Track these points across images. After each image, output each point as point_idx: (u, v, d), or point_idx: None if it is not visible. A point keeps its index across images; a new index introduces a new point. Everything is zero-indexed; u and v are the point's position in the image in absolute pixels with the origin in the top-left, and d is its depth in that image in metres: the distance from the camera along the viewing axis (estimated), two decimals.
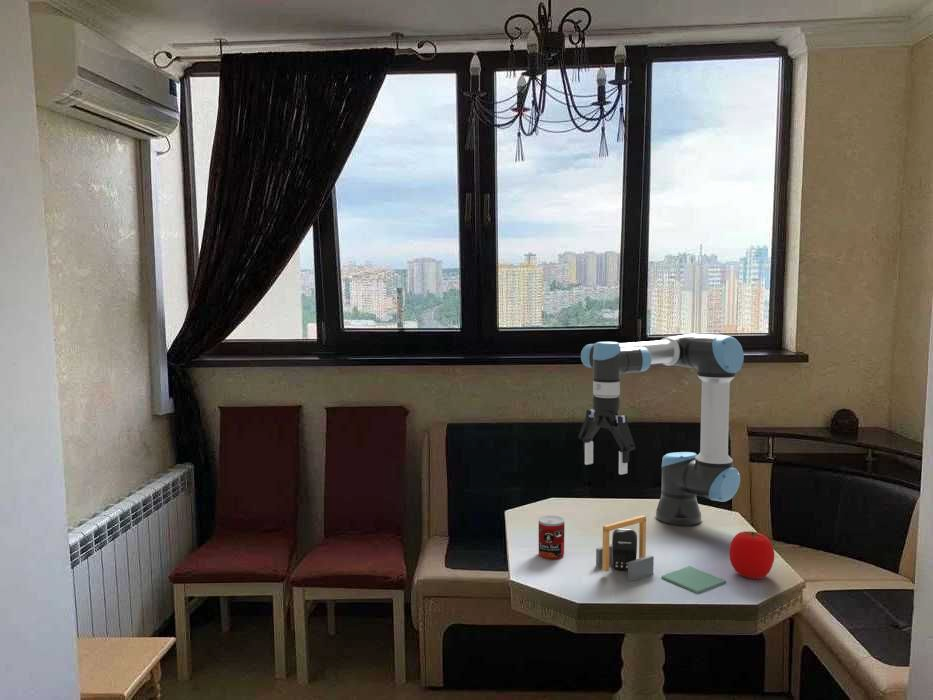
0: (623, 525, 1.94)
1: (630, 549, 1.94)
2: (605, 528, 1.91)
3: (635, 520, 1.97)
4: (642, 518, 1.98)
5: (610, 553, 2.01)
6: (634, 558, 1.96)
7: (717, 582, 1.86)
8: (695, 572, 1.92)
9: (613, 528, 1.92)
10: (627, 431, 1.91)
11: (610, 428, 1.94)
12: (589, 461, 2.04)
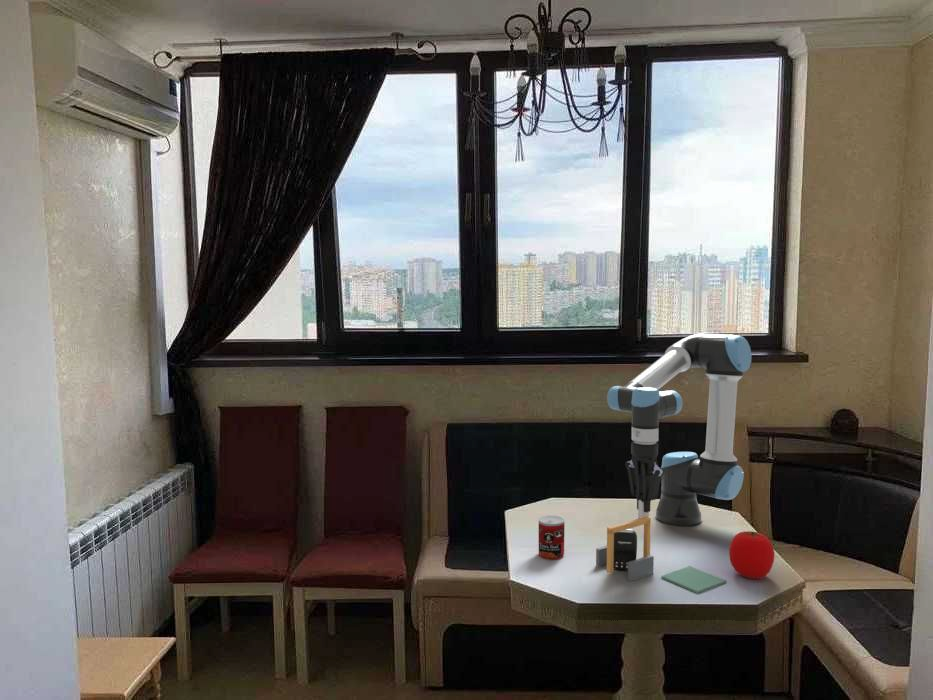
0: (627, 527, 1.93)
1: (630, 549, 1.94)
2: (609, 530, 1.89)
3: (639, 522, 1.95)
4: (646, 520, 1.97)
5: None
6: (634, 558, 1.96)
7: (717, 582, 1.86)
8: (695, 572, 1.92)
9: (617, 530, 1.90)
10: (657, 484, 1.94)
11: (643, 476, 1.96)
12: None
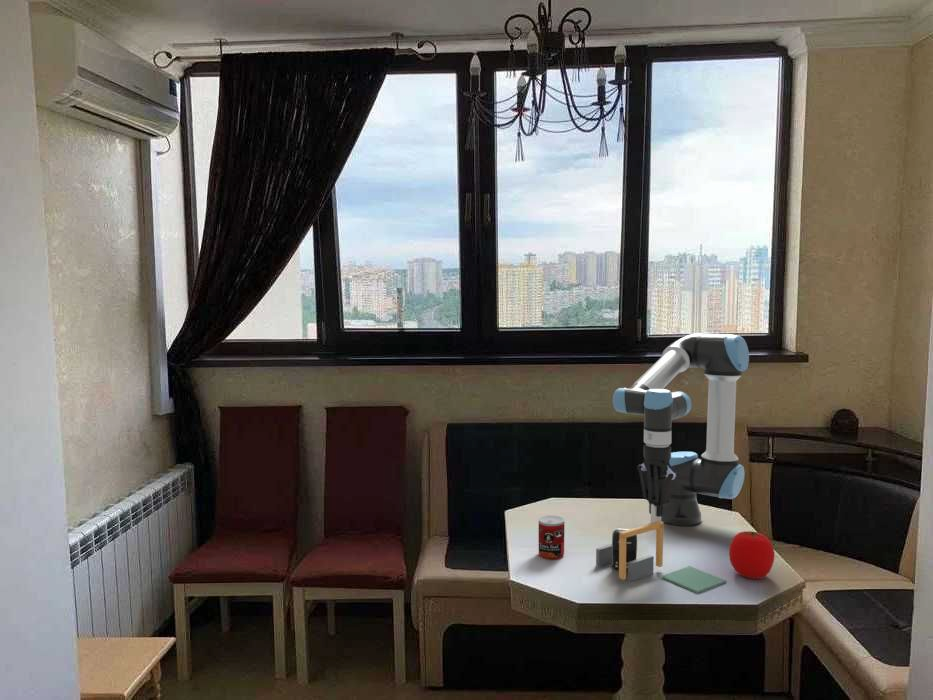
0: (640, 531, 1.89)
1: (630, 549, 1.94)
2: (622, 535, 1.85)
3: (652, 526, 1.92)
4: (659, 524, 1.93)
5: (610, 553, 2.01)
6: (634, 558, 1.96)
7: (717, 582, 1.86)
8: (695, 572, 1.92)
9: (630, 534, 1.87)
10: (670, 488, 1.91)
11: (656, 480, 1.92)
12: None
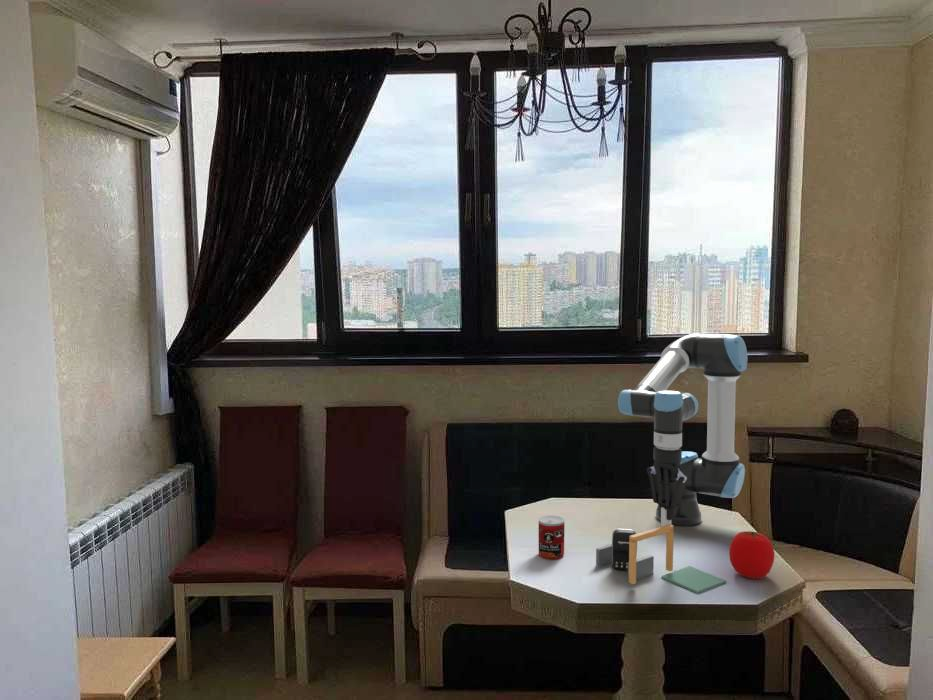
0: (650, 535, 1.86)
1: None
2: (632, 538, 1.82)
3: (662, 530, 1.89)
4: (669, 528, 1.90)
5: (610, 553, 2.01)
6: None
7: (717, 582, 1.86)
8: (695, 572, 1.92)
9: (640, 538, 1.84)
10: (680, 491, 1.88)
11: (667, 483, 1.89)
12: None
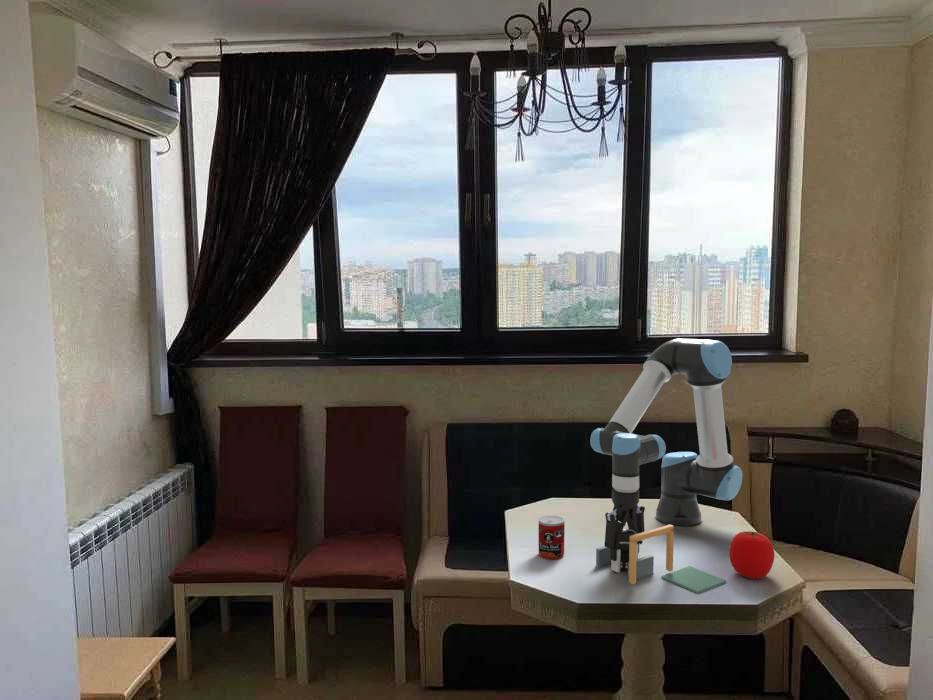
0: (650, 535, 1.86)
1: None
2: (632, 539, 1.82)
3: (662, 530, 1.89)
4: (670, 528, 1.90)
5: None
6: None
7: (717, 582, 1.86)
8: (695, 572, 1.92)
9: (640, 538, 1.84)
10: (608, 530, 1.92)
11: None
12: None
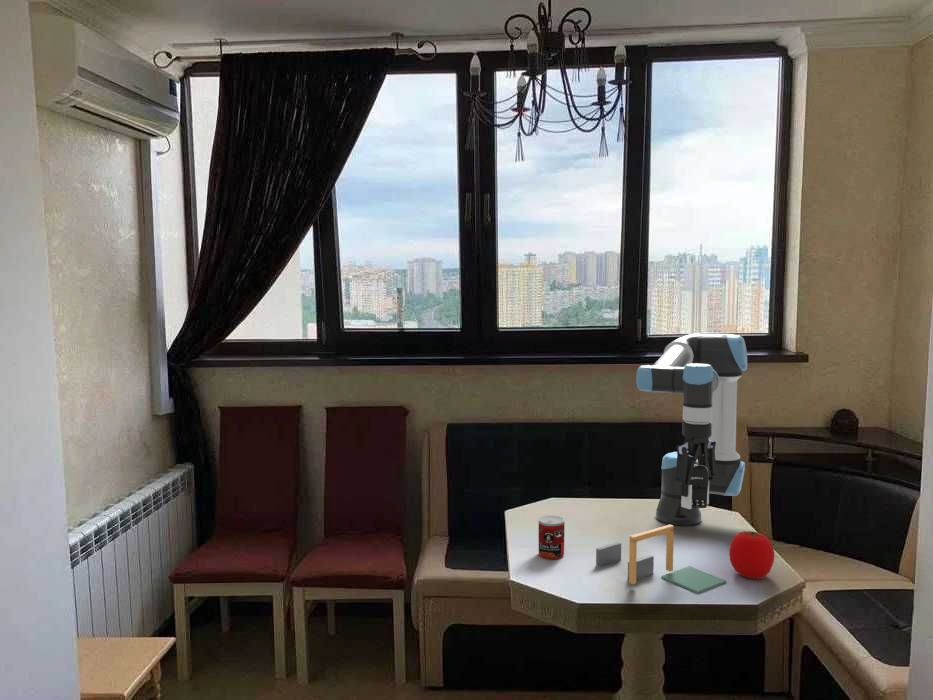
0: (650, 535, 1.86)
1: (701, 485, 1.84)
2: (632, 539, 1.82)
3: (662, 530, 1.89)
4: (670, 528, 1.90)
5: (610, 553, 2.01)
6: (705, 495, 1.86)
7: (717, 582, 1.86)
8: (695, 572, 1.92)
9: (640, 538, 1.84)
10: (680, 463, 1.82)
11: None
12: None
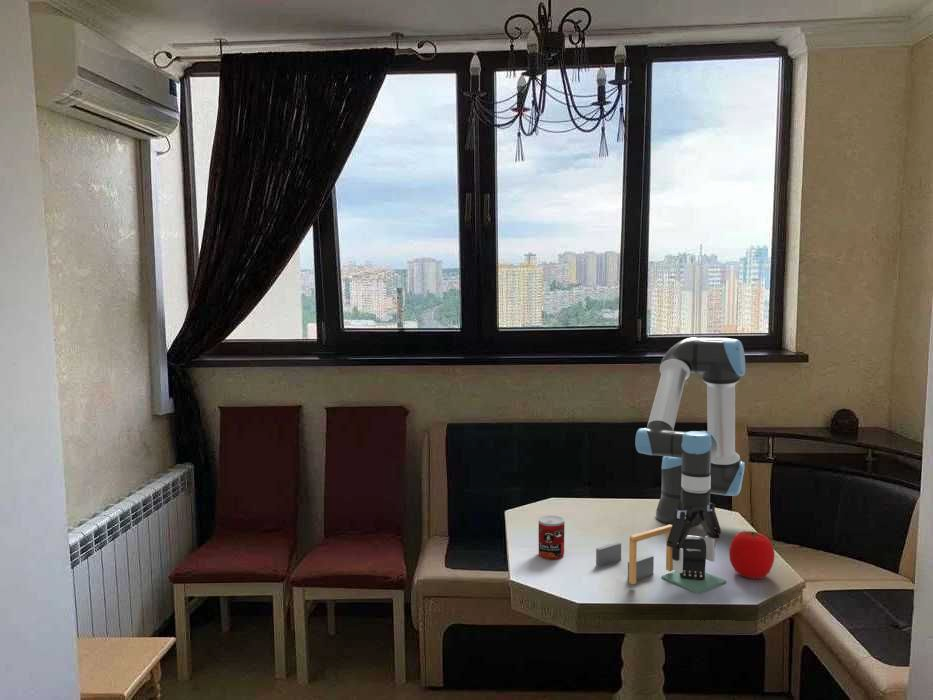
0: (650, 535, 1.86)
1: (699, 557, 1.86)
2: (632, 539, 1.82)
3: (662, 530, 1.89)
4: (670, 528, 1.90)
5: (610, 553, 2.01)
6: (703, 566, 1.88)
7: (717, 582, 1.86)
8: None
9: (640, 538, 1.84)
10: (675, 527, 1.83)
11: None
12: (707, 557, 1.92)
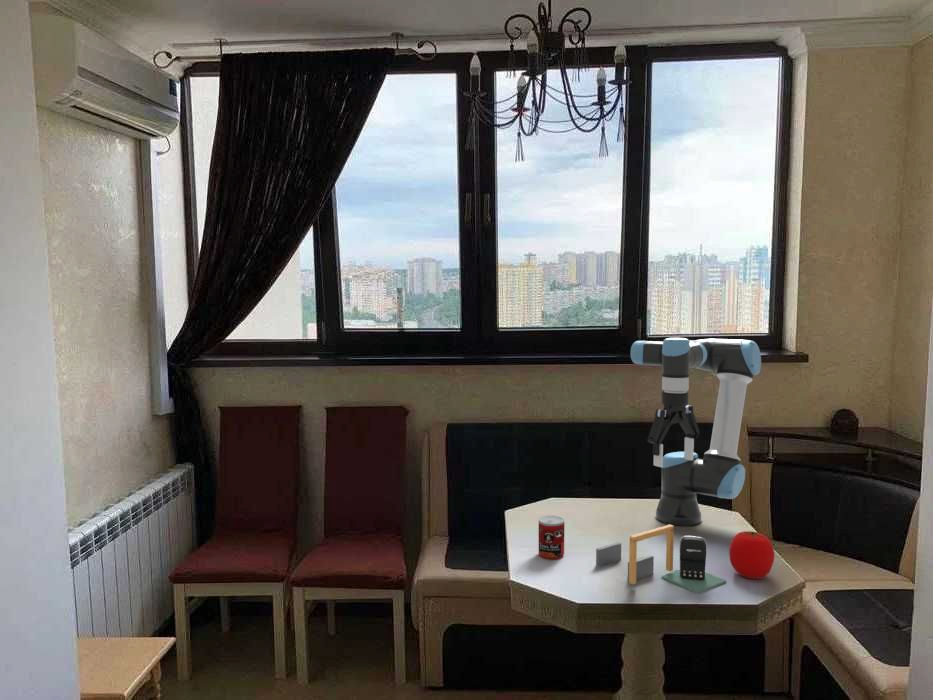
0: (650, 535, 1.86)
1: (699, 557, 1.86)
2: (632, 539, 1.82)
3: (662, 530, 1.89)
4: (670, 528, 1.90)
5: (610, 553, 2.01)
6: (703, 567, 1.88)
7: (717, 582, 1.86)
8: None
9: (640, 538, 1.84)
10: (656, 424, 1.97)
11: None
12: (687, 456, 2.06)
